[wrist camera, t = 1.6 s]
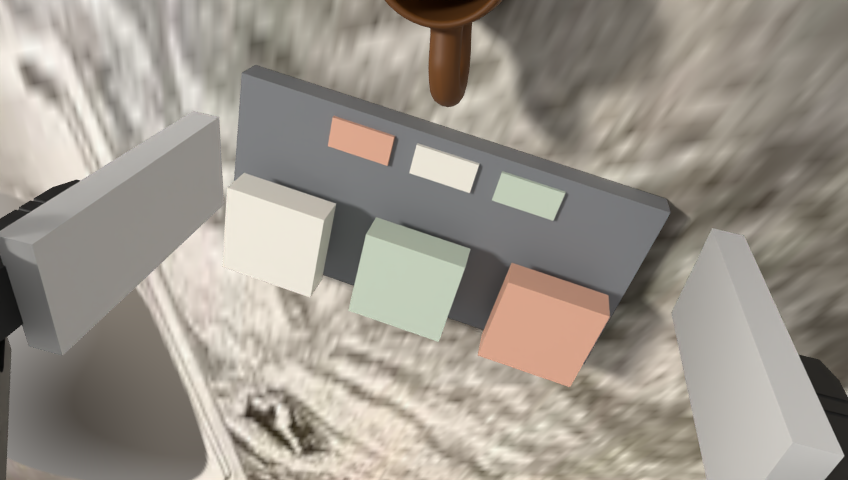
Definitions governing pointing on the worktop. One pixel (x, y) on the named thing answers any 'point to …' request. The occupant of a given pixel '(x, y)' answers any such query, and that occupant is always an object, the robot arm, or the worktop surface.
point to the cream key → (276, 234)
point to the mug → (446, 40)
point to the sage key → (407, 278)
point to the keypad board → (442, 192)
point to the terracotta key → (543, 324)
